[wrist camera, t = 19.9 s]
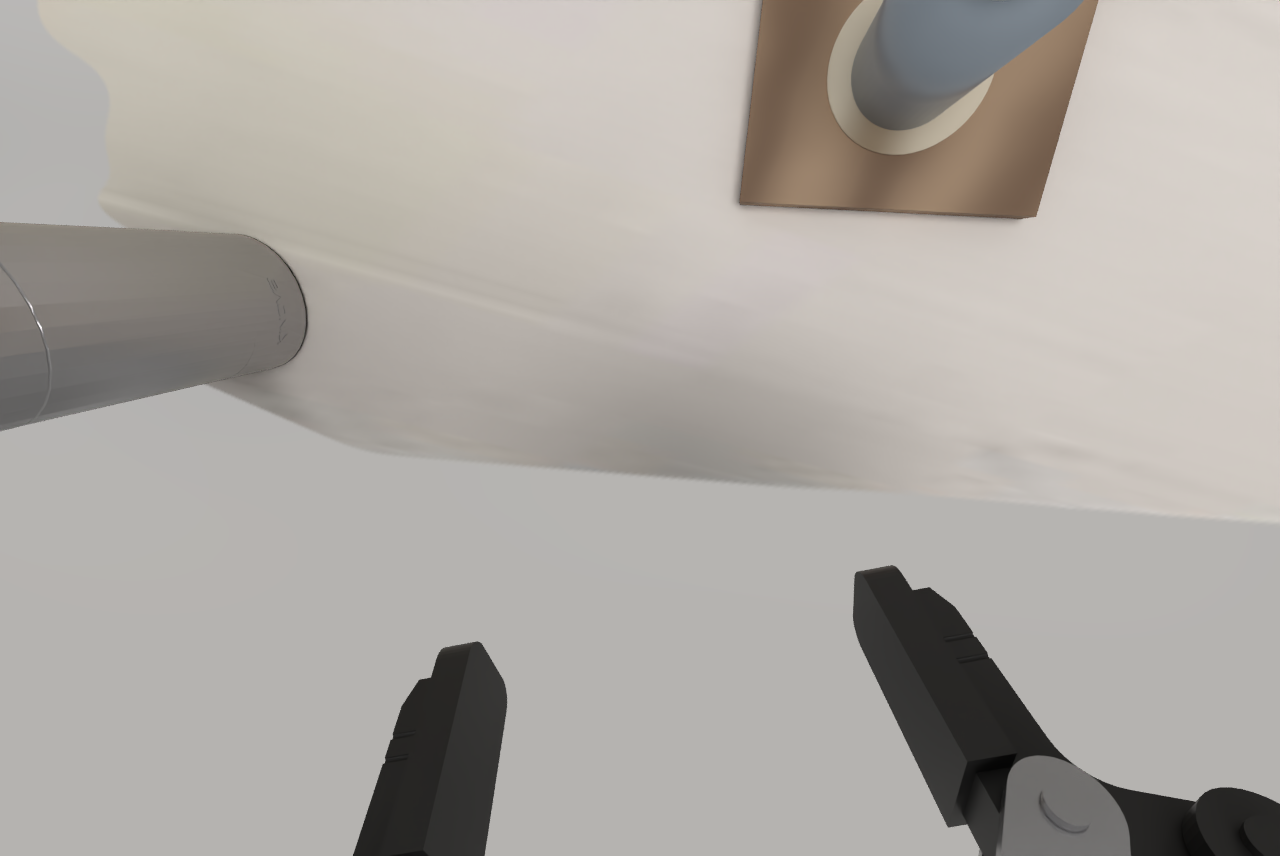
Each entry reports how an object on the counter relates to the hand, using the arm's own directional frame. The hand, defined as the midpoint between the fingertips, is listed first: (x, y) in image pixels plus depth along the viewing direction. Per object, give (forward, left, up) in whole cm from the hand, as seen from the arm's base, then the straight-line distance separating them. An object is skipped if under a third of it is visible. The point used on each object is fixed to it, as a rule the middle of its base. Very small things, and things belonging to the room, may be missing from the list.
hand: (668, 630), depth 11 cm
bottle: (+7, +16, -20) cm, 27 cm away
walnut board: (+7, +16, -22) cm, 28 cm away
